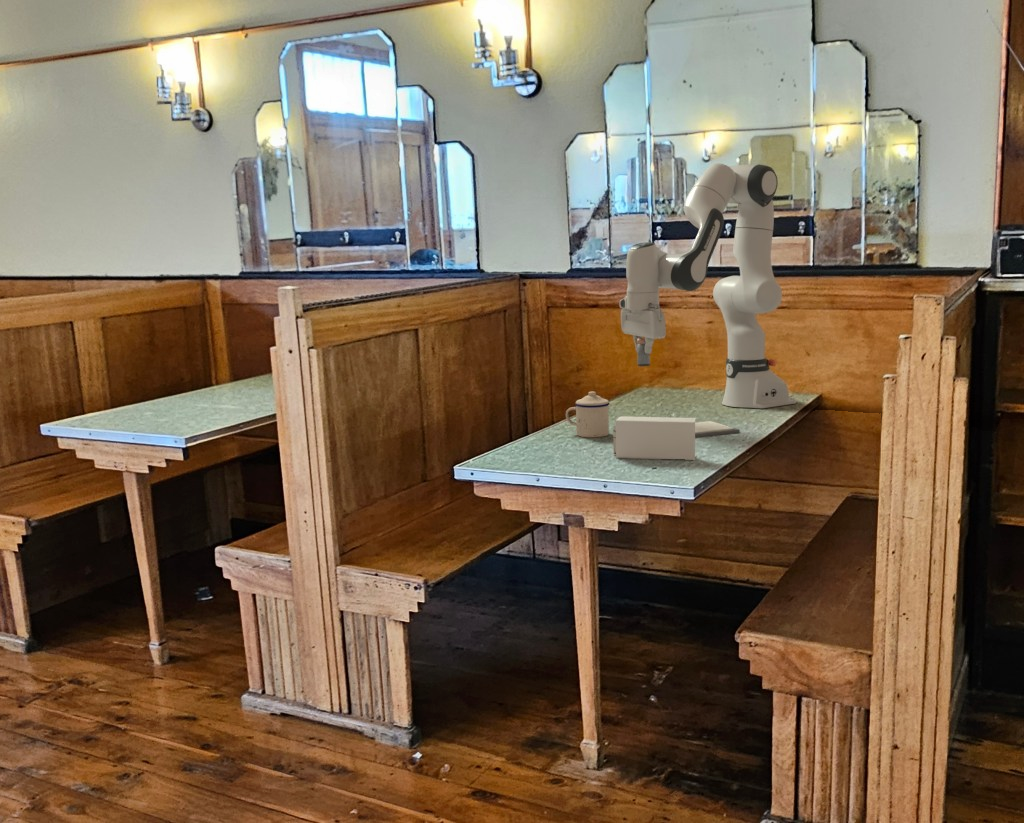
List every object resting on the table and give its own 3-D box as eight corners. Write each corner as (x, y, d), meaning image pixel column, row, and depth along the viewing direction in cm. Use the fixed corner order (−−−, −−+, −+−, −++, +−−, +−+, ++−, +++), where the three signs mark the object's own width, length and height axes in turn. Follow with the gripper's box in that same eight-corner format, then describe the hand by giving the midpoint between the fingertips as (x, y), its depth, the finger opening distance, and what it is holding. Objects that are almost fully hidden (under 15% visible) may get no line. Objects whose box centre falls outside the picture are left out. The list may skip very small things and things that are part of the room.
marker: (646, 364, 294) (646, 337, 292) (652, 365, 291) (651, 338, 289) (635, 365, 293) (634, 338, 291) (640, 366, 289) (640, 339, 288)
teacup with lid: (613, 432, 284) (613, 389, 282) (604, 438, 276) (604, 395, 274) (571, 430, 288) (570, 388, 286) (561, 436, 280) (560, 393, 278)
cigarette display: (697, 456, 252) (697, 418, 250) (694, 461, 247) (694, 422, 245) (615, 453, 258) (614, 416, 256) (610, 458, 252) (610, 420, 251)
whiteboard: (712, 423, 292) (712, 420, 291) (739, 432, 279) (739, 428, 278) (631, 432, 283) (631, 428, 283) (655, 441, 270) (655, 437, 270)
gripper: (671, 304, 280) (671, 355, 282) (636, 299, 299) (637, 348, 301) (650, 305, 278) (651, 357, 280) (616, 301, 297) (617, 349, 299)
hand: (643, 352), depth 291 cm, fingers closed on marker, 3 cm apart
